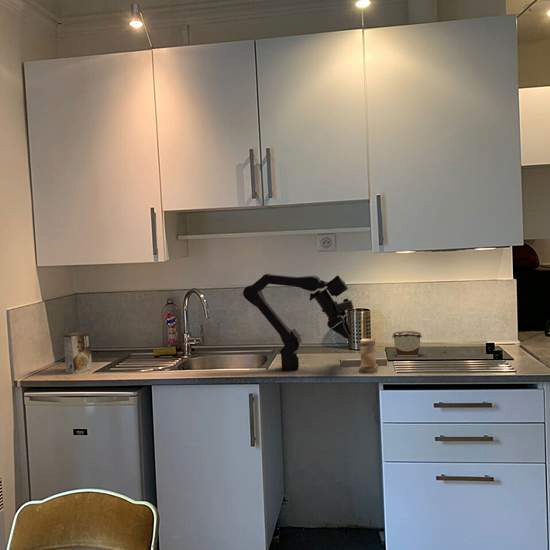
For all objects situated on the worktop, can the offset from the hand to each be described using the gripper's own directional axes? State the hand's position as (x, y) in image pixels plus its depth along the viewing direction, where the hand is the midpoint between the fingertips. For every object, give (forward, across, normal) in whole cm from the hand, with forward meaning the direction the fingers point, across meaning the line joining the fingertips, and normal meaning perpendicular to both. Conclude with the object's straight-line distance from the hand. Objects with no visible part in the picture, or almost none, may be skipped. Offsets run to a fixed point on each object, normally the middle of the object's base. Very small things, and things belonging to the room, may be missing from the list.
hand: (349, 336), depth 238 cm
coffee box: (-51, -5, +104) cm, 116 cm away
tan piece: (+15, -2, +1) cm, 15 cm away
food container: (+23, +27, -12) cm, 37 cm away
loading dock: (+13, +12, +4) cm, 18 cm away
